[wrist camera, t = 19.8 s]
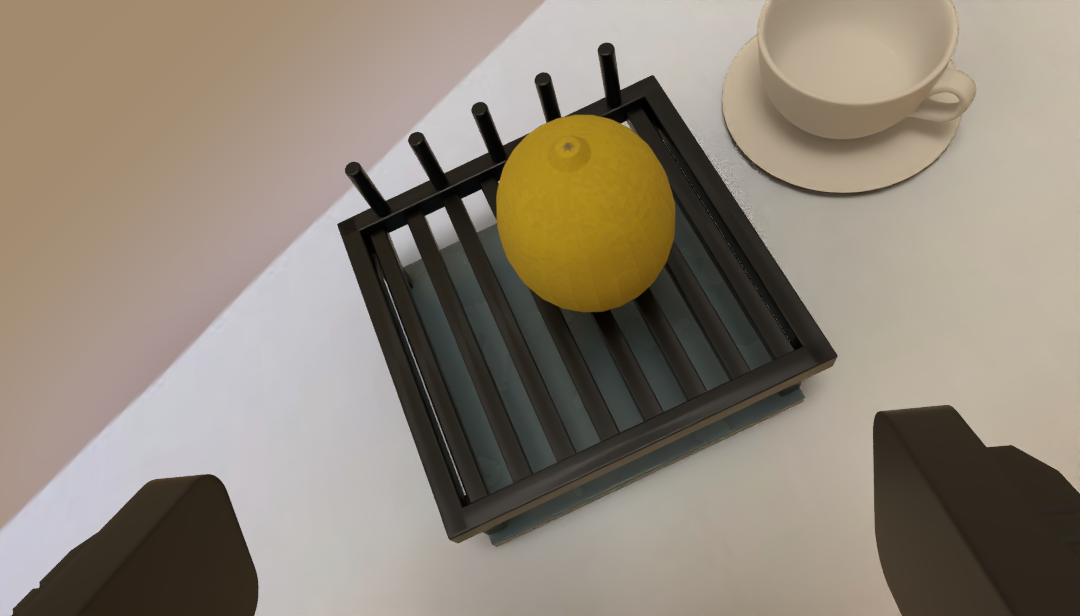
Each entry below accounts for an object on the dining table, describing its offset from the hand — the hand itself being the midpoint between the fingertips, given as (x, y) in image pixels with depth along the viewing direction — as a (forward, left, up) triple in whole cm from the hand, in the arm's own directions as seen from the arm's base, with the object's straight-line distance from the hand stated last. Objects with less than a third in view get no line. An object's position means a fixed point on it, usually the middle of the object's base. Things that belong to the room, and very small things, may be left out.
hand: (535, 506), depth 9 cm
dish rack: (-2, -10, -20) cm, 23 cm away
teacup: (-17, -15, -21) cm, 31 cm away
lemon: (-4, -10, -16) cm, 19 cm away
